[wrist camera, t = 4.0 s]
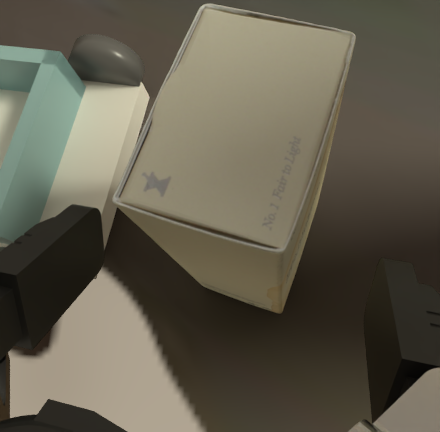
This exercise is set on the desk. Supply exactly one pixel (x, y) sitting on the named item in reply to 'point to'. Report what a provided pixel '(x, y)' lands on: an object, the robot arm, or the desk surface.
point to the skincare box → (239, 150)
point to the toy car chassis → (66, 130)
